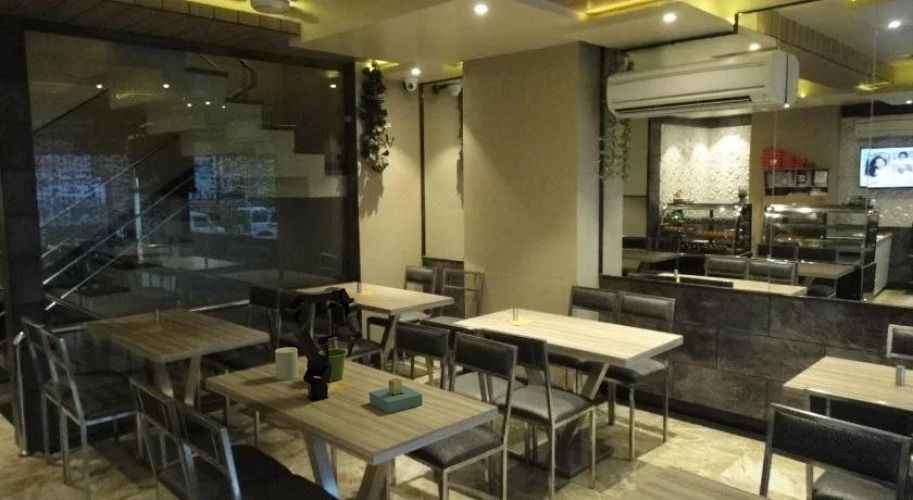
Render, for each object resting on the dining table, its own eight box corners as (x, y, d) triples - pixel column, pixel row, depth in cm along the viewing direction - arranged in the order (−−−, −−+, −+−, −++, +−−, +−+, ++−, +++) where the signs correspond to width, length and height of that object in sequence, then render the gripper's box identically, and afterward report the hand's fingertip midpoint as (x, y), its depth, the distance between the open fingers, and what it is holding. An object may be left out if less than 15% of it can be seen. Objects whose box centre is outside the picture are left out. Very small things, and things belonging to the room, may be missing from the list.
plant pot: (314, 378, 269) (313, 351, 268) (339, 373, 276) (339, 347, 275) (326, 385, 260) (325, 357, 259) (353, 379, 267) (352, 352, 266)
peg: (394, 406, 235) (393, 381, 234) (389, 403, 237) (388, 379, 236) (402, 404, 237) (401, 380, 236) (397, 401, 239) (396, 377, 238)
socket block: (388, 413, 227) (388, 402, 227) (369, 402, 239) (369, 392, 238) (422, 405, 235) (422, 394, 235) (402, 395, 247) (402, 384, 246)
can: (295, 380, 267) (294, 351, 266) (273, 380, 268) (271, 351, 266) (301, 373, 277) (300, 345, 275) (279, 373, 277) (278, 346, 275)
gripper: (323, 325, 242) (325, 366, 243) (368, 319, 253) (369, 358, 254) (311, 320, 251) (313, 360, 252) (355, 314, 262) (356, 352, 263)
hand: (338, 358), depth 255 cm, fingers open, 9 cm apart
